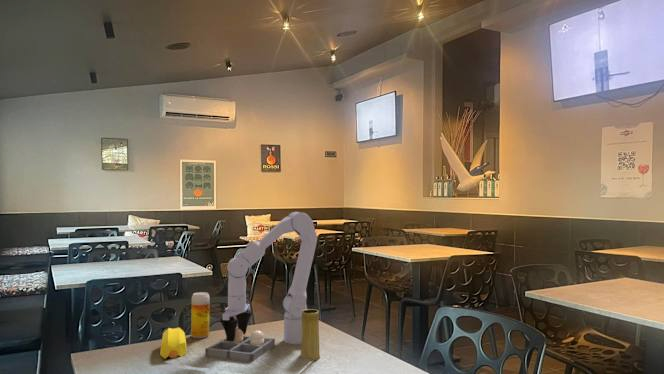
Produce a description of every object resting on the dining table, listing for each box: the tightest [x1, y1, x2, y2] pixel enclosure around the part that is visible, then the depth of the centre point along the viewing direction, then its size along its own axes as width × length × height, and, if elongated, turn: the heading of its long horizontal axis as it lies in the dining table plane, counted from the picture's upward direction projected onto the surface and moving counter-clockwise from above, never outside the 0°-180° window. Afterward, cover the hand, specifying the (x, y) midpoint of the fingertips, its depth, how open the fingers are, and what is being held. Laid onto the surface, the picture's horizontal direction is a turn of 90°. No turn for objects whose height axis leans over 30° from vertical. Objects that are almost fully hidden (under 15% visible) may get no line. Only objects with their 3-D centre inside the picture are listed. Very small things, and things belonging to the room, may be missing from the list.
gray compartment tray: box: [204, 335, 276, 363], centre depth 149 cm, size 16×16×3 cm
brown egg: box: [230, 327, 244, 343], centre depth 154 cm, size 4×4×6 cm
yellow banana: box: [159, 326, 188, 360], centre depth 150 cm, size 18×7×8 cm
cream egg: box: [249, 329, 265, 345], centre depth 152 cm, size 4×4×6 cm
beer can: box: [190, 291, 211, 340], centre depth 167 cm, size 6×6×15 cm
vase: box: [300, 308, 321, 362], centre depth 146 cm, size 6×6×14 cm
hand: (236, 337), depth 154 cm, fingers open, 7 cm apart
